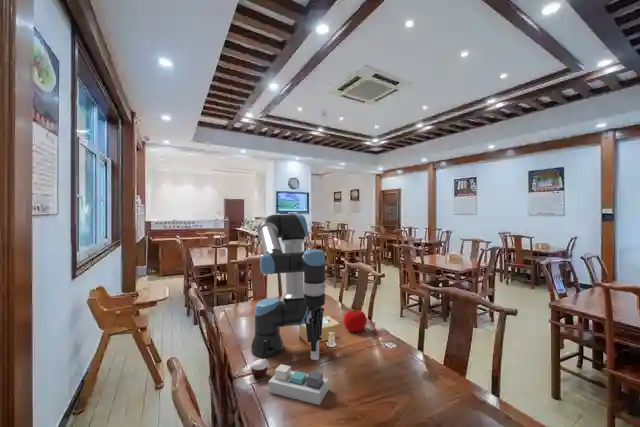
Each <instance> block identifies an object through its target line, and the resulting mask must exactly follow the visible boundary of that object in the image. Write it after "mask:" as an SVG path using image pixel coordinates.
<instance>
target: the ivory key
mask: <svg viewBox="0 0 640 427" xmlns="http://www.w3.org/2000/svg"><path fill="white" fill-rule="evenodd" d="M291 371H292V366H290V365H286V364H280V365H278V366H277V367H276V369H274V375H275V379H276V380H280V381H284V382H286V381H287V380H288V379H289V378H290V377H291Z"/></svg>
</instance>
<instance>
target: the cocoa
mask: <svg viewBox="0 0 640 427" xmlns="http://www.w3.org/2000/svg"><path fill="white" fill-rule="evenodd" d="M266 347H267V341H265V340H264V342H263V349H262V356H261V357H260V359H259V358H258V359H257V360H255V361H252V363H251V365H250V367H251V373H252V375H253V377H254V378H257V379H260V378H263V377H264V376H266V374H267V372H268V365H269V361H268V359H266V357H265V354H266Z"/></svg>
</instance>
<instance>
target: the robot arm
mask: <svg viewBox="0 0 640 427" xmlns="http://www.w3.org/2000/svg"><path fill="white" fill-rule="evenodd" d="M308 228H309V227H308V224H307V219H306V217H305V216H304V215H303V214H298V213H297V214H296V213H295V214H291V213H290V214H271V215H268V216H267V217H265V218H264V219H262V220H261V221H260V222H259V224H258V226H257V231H256V232H257V237H258V238H259V240H260V242H261V246H262V254H261V255H260V256H259V268H260V273H261V274H263V275H273V274H274V275H275V274H285V286H286V287H285V290H286V291H285V295H284V296H283V298H282V300H281V301H280V299H279V298H278V297H270V298H264V299H262V300H259V301H257V303H256V304H255V306H254V314H253V315H254V335H253V339H252V342H251V347H250V351H251V354H252V355H254V356H256V357H260V358H261V356H262V349H263V342H264V340H265V341H267V347H266V354H265V358H269V357H273V356H277V355H279V354H280V353H282V352H283V351H284V341H283V338H282V335H281V332H280V329H281V328H283V327H290V326H291V327H292V326H302V325H305V329H306V338H307V342H308V343H310V360H314V361H319V359H320V341H322V339H323V338H322V337H321V336H322V335H323V334H322V333H323V322H324V321H323V320H324V312H325V309H324V307H323V306H324V305H325V304H326V294H325V292H326V291H325V290H326V288H327V285H326V284H325V283H326V258H325V251H324V250H322V249H306V250H303V243H304V242H305V238H307V237H308V234H309V232H308V231H309V229H308ZM280 239H281V243H282V244H284V252H283V250H282V246H281V243H280Z"/></svg>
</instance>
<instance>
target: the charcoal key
mask: <svg viewBox="0 0 640 427" xmlns="http://www.w3.org/2000/svg"><path fill="white" fill-rule="evenodd" d="M323 378H324V373H323V372H318V371H315V370H311V371H310V372H309V374H308V376H307V387H310V388H314V389H318V390H319V389H320V388H321V386H322V385H323Z"/></svg>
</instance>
